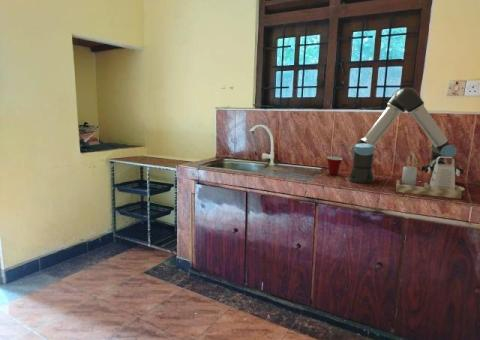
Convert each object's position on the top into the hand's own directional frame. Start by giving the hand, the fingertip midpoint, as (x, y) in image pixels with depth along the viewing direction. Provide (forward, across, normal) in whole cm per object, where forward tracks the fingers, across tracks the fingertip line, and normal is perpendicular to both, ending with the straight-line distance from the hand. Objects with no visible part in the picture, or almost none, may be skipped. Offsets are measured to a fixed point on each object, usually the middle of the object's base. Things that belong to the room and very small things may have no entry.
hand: (443, 172), depth 167 cm
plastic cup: (-23, +62, -11) cm, 68 cm away
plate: (-11, -7, -11) cm, 17 cm away
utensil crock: (+4, +17, -11) cm, 20 cm away
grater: (+4, +1, -11) cm, 12 cm away
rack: (+4, +8, -11) cm, 14 cm away
